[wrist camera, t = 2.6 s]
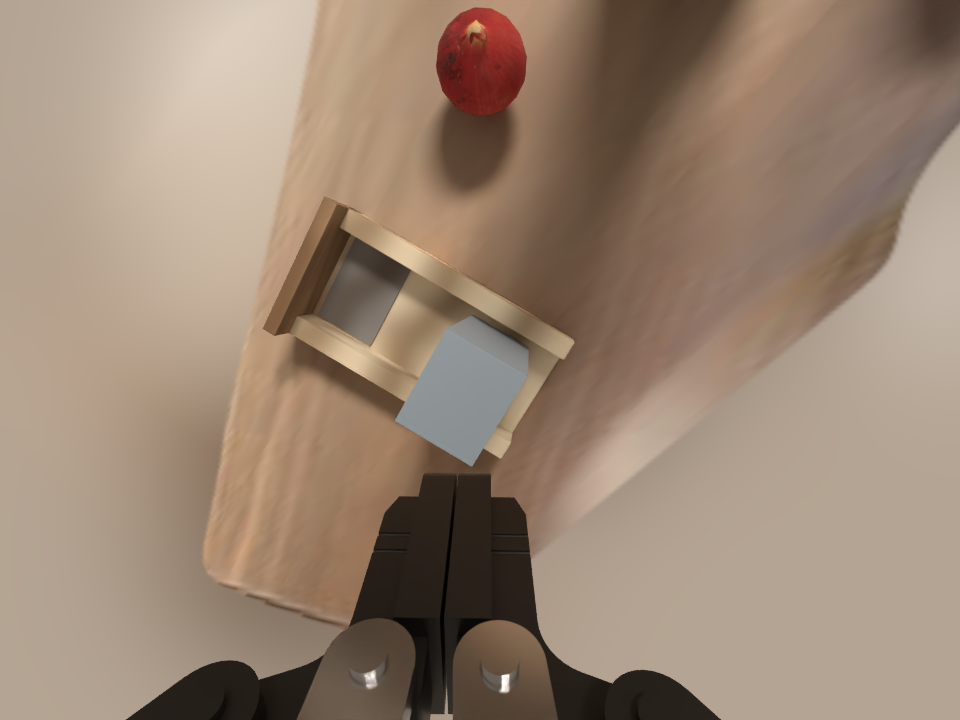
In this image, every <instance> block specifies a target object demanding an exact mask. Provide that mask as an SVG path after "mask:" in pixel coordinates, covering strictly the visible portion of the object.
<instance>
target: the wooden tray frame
mask: <svg viewBox="0 0 960 720" xmlns="http://www.w3.org/2000/svg"><path fill="white" fill-rule="evenodd" d="M471 315H474V316H476V317H478V318H480V319H481V320H483V321H485V322H486V323H488V324H490V325H491V326H493V327H495V328H496V329H498V330H500V331H502V332H503V333H505V334H507V335H508V336H510V337H512V338H513V339H515V340H517V341H518V342H520V343H522V344H524V345H525V346H527V347H529V357H528V377H527V379H526V380H525V382H524V384H523V385H522V387H521V388H520V390H519V392H518V393H517V395H516V396H515V398H514V400H513V401H512V403H511V405H510V406H509V408H508V409H507V411H506V413H505V414H504V416H503V417H502V419H501V421H500V422H499V424H498V425H497V427H496V429H495V430H494V432H493V434H492V435H491V437H490V438H489V440H488V442H487V443H486V445H485V446H484V448H483V449H485V450H487V451H488V452H490V453H492V454H494V455H495V456H497V457H499V458H500V459H501V458H502V456H503V455H504V453H505V452H506V450H507V449H508V447H509V445H510V444H511V439H512V432H513V431H514V429H515V428H516V426H517V425H518V423H519V421H520V420H521V418H522V417H523V415H524V413H525V412H526V410H527V409H528V407H529V405H530V404H531V402H532V401H533V399H534V398H535V396H536V394H537V393H538V391H539V390H540V388H541V386H542V385H543V383H544V382H545V380H546V379H547V377H548V375H549V374H550V372H551V371H552V369H553V367H554V366H555V364H556V363H557V361H558V360H559V358H561V359H563V360H564V359H565V357H566V355H567V354H568V352H569V351H570V349H571V348H572V346H573V344H574V343H575V342H574V340H573V339H572V338H571V337H570V336H568V335H566V334H565V333H563V332H561V331H560V330H558V329H556V328H554V327H553V326H551V325H549V324H548V323H546V322H544V321H543V320H541V319H539V318H537V317H536V316H534V315H532V314H531V313H529V312H527V311H526V310H524V309H522V308H521V307H519V306H517V305H515V304H514V303H512V302H510V301H509V300H507V299H505V298H504V297H502V296H500V295H499V294H497V293H495V292H493V291H492V290H490V289H488V288H487V287H485V286H483V285H482V284H480V283H478V282H477V281H475V280H473V279H471V278H470V277H468V276H466V275H465V274H463V273H461V272H460V271H458V270H456V269H454V268H453V267H451V266H449V265H448V264H446V263H444V262H443V261H441V260H439V259H438V258H436V257H434V256H432V255H431V254H429V253H427V252H426V251H424V250H422V249H421V248H419V247H417V246H416V245H414V244H412V243H410V242H409V241H407V240H405V239H404V238H402V237H400V236H399V235H397V234H395V233H394V232H392V231H390V230H388V229H387V228H385V227H383V226H382V225H380V224H378V223H377V222H375V221H373V220H372V219H370V218H368V217H366V216H365V215H363V214H361V213H360V212H358V211H356V210H355V209H353V208H350V207H348V206H346V205H343V204H341V203H339V202H336V201H334V200H332V199H329V198H327V197H324V199H323V201H322V203H321V205H320V207H319V209H318V211H317V214H316V216H315V218H314V220H313V222H312V224H311V226H310V229H309V231H308V233H307V235H306V237H305V239H304V241H303V244H302V246H301V248H300V250H299V252H298V254H297V256H296V259H295V261H294V263H293V265H292V267H291V269H290V271H289V274H288V276H287V278H286V280H285V282H284V284H283V286H282V289H281V291H280V293H279V295H278V297H277V299H276V301H275V304H274V306H273V308H272V310H271V312H270V314H269V316H268V319H267V321H266V323H265V325H264V327H263V329H264V330H266V331H267V332H269V333H271V334H272V335H274V336H276V335H281V334H285V333H290V334H292V335H294V336H295V337H297V338H299V339H300V340H302V341H304V342H305V343H307V344H309V345H310V346H312V347H314V348H315V349H317V350H319V351H321V352H322V353H324V354H326V355H327V356H329V357H331V358H332V359H334V360H336V361H337V362H339V363H341V364H342V365H344V366H346V367H347V368H349V369H351V370H352V371H354V372H356V373H357V374H359V375H361V376H363V377H364V378H366V379H368V380H369V381H371V382H373V383H374V384H376V385H378V386H379V387H381V388H383V389H384V390H386V391H388V392H389V393H391V394H393V395H394V396H396V397H398V398H399V399H401V400H403V401H404V402H406V400H407V398H408V396H409V395H410V393H411V391H412V389H413V387H414V386H415V384H416V382H417V380H418V379H419V377H420V375H421V373H422V371H423V370H424V368H425V366H426V364H427V363H428V361H429V359H430V357H431V355H432V354H433V352H434V350H435V348H436V347H437V345H438V343H439V341H440V339H441V338H442V336H443V334H444V332H445V331H446V329H447V328H449V327H450V326H452V325H454V324H456V323H458V322H460V321H462V320H464V319H466V318H468V317H469V316H471Z"/></svg>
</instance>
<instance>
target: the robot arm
mask: <svg viewBox="0 0 960 720" xmlns="http://www.w3.org/2000/svg"><path fill="white" fill-rule="evenodd" d="M532 577H533V576H532V568H531V558H530V549H529V540H528V531H527V521H526V514H525V513H524V511H523V510H522V508H521V507H520V505H519V504H518V502H517V501H516V499H515V498H503V497H491V474H459V476H458V485H457V474H441V473H424V475H423V479H422V484H421V488H420V493H419V497H404V496H399V497H398V499H397V500H396V501H395V502H394V503H393V504H392V505H391V506H390V508H389V509H388V510H387V511H386V512H385V514H384V517H383V520H382V524H381V527H380V530H379V536H378V537H377V540H376V543H375V546H374V552H373V553H372V556H371V559H370V562H369V566H368V569H367V572H366V575H365V579H364V582H363V585H362V588H361V592H360V595H359V598H358V601H357V604H356V608H355V611H354V614H353V617H352V620H351V623H350V625H349V627H348V628H347V629H345V630H344V631H343V632H341V633H340V634H339V635H338V636H337V637H336V638H335V639H334V640H333V641H332V643H331V644H330V646H329V647H328V648H327V650H326V652H325V654H324V655H323V656H321V657H320V658H319V659H317V660H315V661H313V662H311V663H309V664H307V665H304V666H302V667H299V668H296V669H293V670H289V671H286V672H283V673H280V674H277V675H273V676H270V677H267V678H264V679H260V680H258V677H257V675H256V673H255V671H254V670H253V669H252V668H251V667H250V666H248V665H246V664H245V663H242V662H239V661H220V662H216V663H211V664H209V665H206V666H204V667H201V668H199V669H198V670H196V671H194V672H192V673H190V674H189V675H188V676H186V677H184V678H183V679H182V680H180V681H179V682H177V683H176V684H174V685H173V686H172V687H170V688H169V689H168V690H166V691H165V692H163V693H162V694H161V695H159V696H158V697H157V698H155V699H154V700H152V701H151V702H150V703H149V704H147V705H146V706H144V707H143V708H141V709H140V710H139V711H137V712H136V713H135V714H133V715H132V716H131V717H129V718H128V719H126V720H430V714H444V711H445V699H446V688H447V695H448V714H453V720H721V719H719V718H718V717H717V716H716V715H715V714H714V713H713V712H712V711H711V710H709V709H708V708H707V707H706V706H705V705H704V704H703V703H702V702H701V701H699V700H698V699H697V698H696V697H695V696H694V695H693V694H692V693H691V692H689V691H688V690H687V689H686V688H684V687H683V686H682V685H681V684H679V683H678V682H676V681H675V680H673V679H671V678H670V677H667V676H665V675H663V674H660V673H657V672H654V671H648V670H635V671H631V672H627V673H625V674H623V675H621V676H620V677H619V678H617V679H616V680H615V681H614V683H613V684H612V683H609V682H607V681H604V680H601V679H598V678H596V677H593V676H590V675H587V674H585V673H582V672H580V671H577V670H575V669H573V668H571V667H569V666H568V665H566V664H565V663H563V662H562V661H561V660H560V659H558V658H557V657H556V656H555V655H554V654H553V653H552V652H551V651H550V649H549V648H548V646H547V645H546V644H545V642H544V640H543V638H542V636H541V633H540V630H539V627H538V621H537V613H536V604H535V594H534V586H533V578H532Z"/></svg>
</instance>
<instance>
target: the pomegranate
mask: <svg viewBox="0 0 960 720" xmlns="http://www.w3.org/2000/svg"><path fill="white" fill-rule="evenodd" d="M526 58H527V56H526V52H525V49H524V45H523V42H522V39H521V36H520V34H519V32H518V31H517V29H516V28H515V27H514V25H513V24H512V23H511V21H510V20H509V19H508V18H507V17H506V16H504V15H502V14H501V13H499V12H497V11H495V10H493V9H490V8H472V9H470V10H467V11H465V12H462V13H460V14H459V15H458V16H457V17H456V18H455V19H454V20H453V21H452V22H451V23H449V24H448V25H447V27H446V29H445V31H444V33H443V35H442V37H441V39H440V41H439V44H438V53H437V63H436V68H437V74H438V77H439V80H440V84H441V87H442V91H443V92H444V94H445V95H446V96H447V97H448V98H449V100H450V101H451V102H452V103H453V104H454V105H455V107H457V108H458V109H460V110H462V111H465V112H467V113H470V114H472V115H492V114H494V113H496V112H499V111H501V110H504V109H505V108H506V107H507V106H508V105H509V104H510V103H511V102H512V101H513V100H514V99H515V98H516V97H517V95H518V93H519V91H520V89H521V87H522V85H523V83H524V80H525V74H526Z"/></svg>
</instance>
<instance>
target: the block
mask: <svg viewBox="0 0 960 720" xmlns="http://www.w3.org/2000/svg"><path fill="white" fill-rule="evenodd" d="M528 357H529V347H527V346H525V345H524V344H522V343H520V342H518V341H517V340H515V339H513V338H512V337H510V336H508V335H507V334H505V333H503V332H502V331H500V330H498V329H496V328H495V327H493V326H491V325H490V324H488V323H486V322H485V321H483V320H481V319H480V318H478V317H476V316H474V315H471V316H469V317H468V318H466V319H464V320H462V321H460V322H458V323H456V324H454V325H452V326H450V327H449V328H447V329H446V331H445V332H444V334H443V336H442V338H441V339H440V341H439V343H438V345H437V347H436V348H435V350H434V352H433V354H432V355H431V357H430V359H429V361H428V363H427V364H426V366H425V368H424V370H423V371H422V373H421V375H420V377H419V379H418V380H417V382H416V384H415V386H414V387H413V389H412V391H411V393H410V395H409V396H408V398H407V400H406V402H405V403H404V405H403V407H402V409H401V411H400V412H399V414H398V416H397V418H396V419H395V421H396V422H397V423H399V424H401V425H402V426H404V427H406V428H407V429H409V430H411V431H412V432H414V433H416V434H418V435H419V436H421V437H423V438H424V439H426V440H428V441H429V442H431V443H433V444H434V445H436V446H438V447H439V448H441V449H443V450H444V451H446V452H448V453H449V454H451V455H453V456H454V457H456V458H458V459H459V460H461V461H463V462H464V463H466V464H468V465H470V466H471V467H472V466H473V464H474V463H475V461H476V459H477V458H478V456H479V454H480V453H481V451H482V450H483V448H484V446H485V445H486V443H487V442H488V440H489V438H490V437H491V435H492V434H493V432H494V430H495V429H496V427H497V425H498V424H499V422H500V421H501V419H502V417H503V416H504V414H505V413H506V411H507V409H508V408H509V406H510V405H511V403H512V401H513V400H514V398H515V396H516V395H517V393H518V392H519V390H520V388H521V387H522V385H523V384H524V382H525V380H526V379H527V377H528Z"/></svg>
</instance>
